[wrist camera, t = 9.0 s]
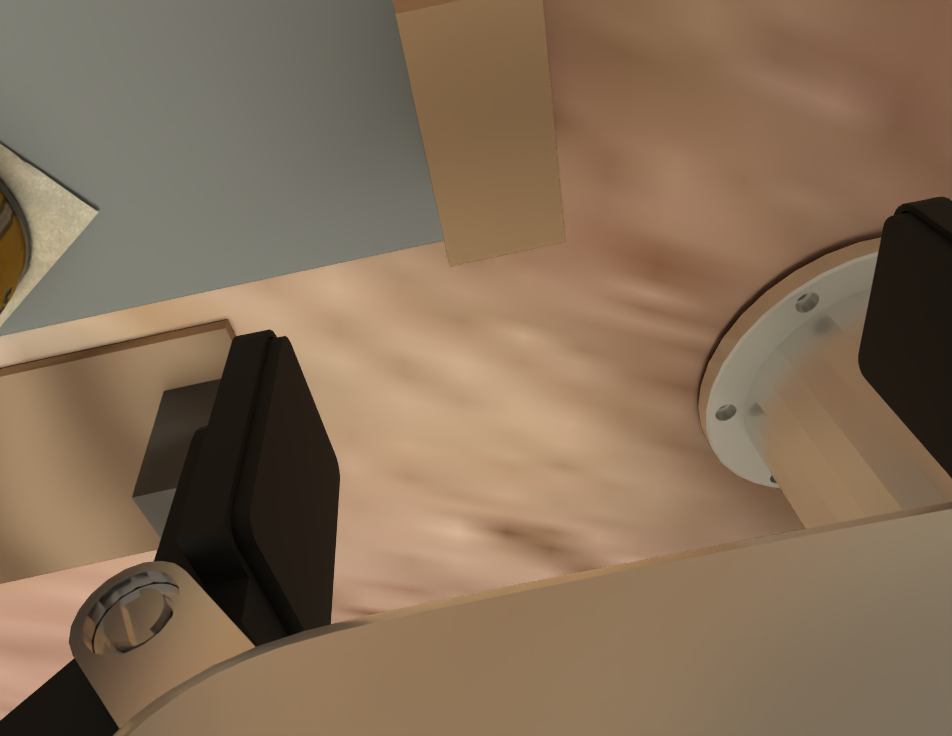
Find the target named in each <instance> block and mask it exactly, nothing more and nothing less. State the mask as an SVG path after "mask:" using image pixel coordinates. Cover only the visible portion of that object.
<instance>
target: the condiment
mask: <svg viewBox="0 0 952 736" xmlns="http://www.w3.org/2000/svg"><path fill="white" fill-rule="evenodd" d="M98 213H99V212H98V211H96V210H95V209H93V208H92V207H90V206H89V205H87V204H86V203H84V202H83V201H81V200H80V199H79V198H77V197H76V196H74V195H73V194H72V193H70V192H69V191H67V190H66V189H64V188H63V187H62V186H60V185H59V184H57V183H56V182H54V181H53V180H52V179H50V178H49V177H48V176H46V175H45V174H43V173H42V172H41V171H39V170H38V169H36V168H35V167H33V166H32V165H30V164H28V163H26V162H24V161H23V160H21V159H20V158H19V157H18V156H16V155H15V154H14V153H13V152H12V151H10V150H9V149H7V148H6V147H4V146H3V145H1V144H0V327H1V326H2V324H3V323H4V322H5V321H6V320H7V318H8V317H9V316H10V315H11V314H12V312H13V311H14V310H15V309H16V308H17V307H18V306H19V305H20V303H21V302H22V301H23V300H24V299H25V297H26V296H27V295H28V294H29V293H30V291H31V290H32V289H33V288H34V287H35V286H36V285H37V283H38V282H39V281H40V280H41V279H42V278H43V276H44V275H45V274H46V273H47V272H48V271H49V269H50V268H51V267H52V266H53V265H54V264H55V262H56V261H57V260H58V259H59V258H60V257H61V256H62V254H63V253H64V252H65V251H66V250H67V249H68V247H69V246H70V245H71V244H72V243H73V242H74V240H75V239H76V238H77V237H78V236H79V235H80V234H81V233H82V231H83V230H84V229H85V228H86V227H87V226H88V224H89V223H90V222H91V221H92V220H93V218H94V217H95V216H96V215H97V214H98Z"/></svg>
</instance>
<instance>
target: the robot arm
mask: <svg viewBox="0 0 952 736" xmlns="http://www.w3.org/2000/svg"><path fill="white" fill-rule="evenodd" d="M698 409H699V416H700V422H701V428H702V430H703V432H704V434H705V436H706V438H707V440H708V442H709V444H710V446H711V448H712V450H713V451H714V452H715V454H716V455H717V457H718V458H719V460H720V461H721V463H722V464H723V465H725V466H726V467H727V468H728V469H729V470H731V471H732V472H733V473H734V474H736V475H737V476H740V477H742V478H744V479H746V480H748V481H750V482H753V483H756V484H760V485H764V486H768V487H774V488H780V489H781V490H782V492H783V493H784V495H785V497H786V498H787V500H788V501H789V503H790V505H791V506H792V508H793V509H794V511H795V513H796V514H797V516H798V517H799V519H800V521H801V522H802V524H803V525H804V527H805V529H802V530H797V531H792V532H786V533H781V534H776V535H771V536H765V537H760V538H755V539H749V540H744V541H739V542H734V543H729V544H723V545H718V546H713V547H708V548H703V549H697V550H692V551H687V552H682V553H676V554H671V555H666V556H661V557H656V558H650V559H645V560H640V561H635V562H630V563H625V564H620V565H615V566H609V567H604V568H599V569H594V570H589V571H584V572H579V573H574V574H569V575H564V576H559V577H554V578H548V579H543V580H538V581H533V582H528V583H523V584H518V585H513V586H508V587H503V588H498V589H492V590H487V591H482V592H477V593H472V594H467V595H462V596H458V597H453V598H448V599H444V600H439V601H434V602H429V603H425V604H420V605H415V606H411V607H406V608H401V609H396V610H392V611H387V612H382V613H378V614H373V615H368V616H364V617H359V618H355V619H351V620H347V621H343V622H339V623H335V624H331V611H332V595H333V579H334V564H335V548H336V533H337V517H338V501H339V486H340V473H339V466H338V462H337V458H336V455H335V453H334V450H333V448H332V445H331V443H330V440H329V438H328V435H327V433H326V430H325V428H324V425H323V423H322V420H321V418H320V415H319V413H318V410H317V408H316V405H315V403H314V400H313V398H312V395H311V393H310V390H309V388H308V385H307V382H306V380H305V377H304V375H303V372H302V370H301V367H300V365H299V362H298V360H297V357H296V355H295V352H294V350H293V347H292V345H291V343H290V341H289V339H288V338H287V337H286V336H283V337H278V338H277V337H276V335H275V333H274V332H273V331H272V330H265V331H260V332H255V333H250V334H245V335H240V336H236V337H234V338H233V340H232V343H231V346H230V350H229V353H228V357H227V360H226V363H225V367H224V370H223V374H222V377H221V381H220V384H219V388H218V391H217V395H216V398H215V401H214V405H213V408H212V412H211V415H210V419H209V422H208V426H205V427H200V428H199V429H198V430H196V431H195V433H194V435H193V437H192V440H191V443H190V446H189V450H188V453H187V456H186V459H185V463H184V466H183V469H182V472H181V475H180V479H179V482H178V485H177V488H176V492H175V495H174V498H173V501H172V505H171V508H170V511H169V514H168V518H167V521H166V524H165V527H164V530H163V534H162V537H161V540H160V543H159V547H158V550H157V553H156V556H155V560H154V562H146V563H141V564H139V565H136V566H133V567H130V568H128V569H125V570H123V571H122V572H120V573H118V574H117V575H115V576H113V577H112V578H110V579H108V580H107V581H106V582H105V583H103V584H102V585H101V586H100V587H99V588H98V589H97V590H95V591H94V592H93V593H92V594H91V595H90V596H89V598H88V599H87V600H86V601H85V603H84V604H83V605H82V607H81V608H80V609H79V611H78V613H77V615H76V617H75V619H74V621H73V623H72V626H71V631H70V638H69V644H70V647H71V651H72V654H73V656H74V659H73V660H72V661H71V662H69V663H68V664H67V665H66V666H65V667H64V668H62V669H61V670H60V671H59V672H58V673H56V674H55V675H54V676H53V677H52V678H50V679H49V680H48V681H47V682H46V683H45V684H43V685H42V686H41V687H40V688H39V689H37V690H36V691H35V692H34V693H33V694H31V695H30V696H29V697H28V698H27V699H25V700H24V701H23V702H22V703H21V704H20V705H18V706H17V707H16V708H15V709H14V710H12V711H11V712H10V713H9V714H8V715H6V716H5V717H4V718H3V719H2V720H1V721H0V736H952V201H951V200H950V199H948V198H945V197H936V198H931V199H926V200H921V201H916V202H911V203H906V204H902V205H901V206H899V207H898V208H897V210H896V211H895V213H894V215H893V216H890V217H889V218H887V220H886V221H885V223H884V227H883V231H882V236H881V237H880V238H876V239H871V240H867V241H862V242H858V243H855V244H853V245H850V246H847V247H845V248H842V249H839V250H837V251H834V252H831V253H829V254H826V255H824V256H822V257H820V258H818V259H817V260H815V261H813V262H811V263H809V264H807V265H805V266H804V267H802V268H800V269H798V270H796V271H794V272H793V273H792V274H790V275H789V276H787V277H786V278H785V279H783V280H782V281H780V282H779V283H778V284H776V285H775V286H773V287H772V288H771V289H769V290H768V291H766V292H765V293H764V294H763V295H762V296H761V297H760V298H759V299H758V300H757V301H756V302H755V303H754V304H752V305H751V306H750V307H749V308H748V309H747V310H746V311H745V312H744V313H743V314H742V315H741V316H740V317H739V319H738V320H737V321H736V322H735V324H734V325H733V326H732V327H731V329H730V330H729V331H728V332H727V334H726V335H725V336H724V337H723V339H722V340H721V342H720V344H719V346H718V347H717V349H716V351H715V353H714V354H713V356H712V358H711V360H710V361H709V363H708V366H707V369H706V372H705V375H704V378H703V381H702V384H701V387H700V396H699V405H698Z"/></svg>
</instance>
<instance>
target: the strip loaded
mask: <svg viewBox="0 0 952 736" xmlns="http://www.w3.org/2000/svg"><path fill="white" fill-rule="evenodd" d="M0 144H1V145H3V146H4V147H6V148H7V149H9V150H10V151H12V152H13V153H14V154H15V155H16V156H18V157H19V158H20V159H21V160H23V161H24V162H26V163H28V164H30V165H32V166H33V167H35V168H36V169H38V170H39V171H41V172H42V173H43V174H45V175H46V176H48V177H49V178H50V179H52V180H53V181H54V182H56V183H57V184H59V185H60V186H62V187H63V188H64V189H66V190H67V191H69V192H70V193H72V194H73V195H74V196H76V197H77V198H79V199H80V200H81V201H83V202H84V203H86V204H87V205H89V206H90V207H92V208H93V209H95V210H96V211H98V212H99V213H98V214H97V215H96V216H95V217H94V218H93V220H92V221H91V222H90V223H89V224H88V226H87V227H86V228H85V229H84V230H83V231H82V233H81V234H80V235H79V236H78V237H77V238H76V239H75V240H74V242H73V243H72V244H71V245H70V246H69V247H68V249H67V250H66V251H65V252H64V253H63V254H62V256H61V257H60V258H59V259H58V260H57V261H56V262H55V264H54V265H53V266H52V267H51V268H50V269H49V271H48V272H47V273H46V274H45V275H44V276H43V278H42V279H41V280H40V281H39V282H38V283H37V285H36V286H35V287H34V288H33V289H32V290H31V291H30V293H29V294H28V295H27V296H26V297H25V299H24V300H23V301H22V302H21V303H20V305H19V306H18V307H17V308H16V309H15V310H14V311H13V312H12V314H11V315H10V316H9V317H8V318H7V320H6V321H5V322H4V323H3V324H2V326H1V327H0V336H3V335H8V334H13V333H17V332H22V331H26V330H31V329H36V328H40V327H45V326H50V325H54V324H59V323H64V322H68V321H73V320H77V319H82V318H87V317H91V316H96V315H101V314H105V313H110V312H115V311H119V310H124V309H128V308H133V307H138V306H142V305H147V304H152V303H156V302H161V301H166V300H170V299H175V298H179V297H184V296H189V295H193V294H198V293H203V292H207V291H212V290H216V289H221V288H226V287H230V286H235V285H240V284H244V283H249V282H254V281H258V280H263V279H267V278H272V277H277V276H281V275H286V274H291V273H295V272H300V271H305V270H309V269H314V268H318V267H323V266H328V265H332V264H337V263H342V262H346V261H351V260H356V259H360V258H365V257H369V256H374V255H379V254H383V253H388V252H393V251H397V250H402V249H407V248H411V247H416V246H420V245H425V244H430V243H434V242H439V241H444V242H445V247H446V251H447V256H448V260H449V265H450V267H451V266H456V265H460V264H465V263H470V262H474V261H479V260H484V259H488V258H493V257H497V256H502V255H507V254H511V253H516V252H521V251H525V250H530V249H535V248H539V247H544V246H548V245H553V244H558V243H562V242H566V241H565V231H564V220H563V209H562V199H561V188H560V177H559V167H558V156H557V145H556V134H555V124H554V113H553V102H552V92H551V81H550V70H549V60H548V49H547V38H546V28H545V17H544V6H543V0H0Z"/></svg>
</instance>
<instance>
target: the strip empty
mask: <svg viewBox="0 0 952 736" xmlns="http://www.w3.org/2000/svg"><path fill="white" fill-rule="evenodd" d="M234 337H235V335H234V333H233V330H232V328H231V326H230V324H229V322H228V320H224V321H219V322H214V323H210V324H205V325H201V326H196V327H191V328H187V329H182V330H177V331H173V332H168V333H163V334H159V335H154V336H150V337H145V338H140V339H136V340H131V341H126V342H122V343H117V344H113V345H108V346H103V347H99V348H94V349H89V350H85V351H80V352H76V353H71V354H66V355H62V356H57V357H52V358H48V359H43V360H39V361H34V362H29V363H25V364H20V365H15V366H11V367H6V368H2V369H0V584H2V583H6V582H11V581H16V580H20V579H25V578H29V577H34V576H38V575H43V574H48V573H52V572H57V571H61V570H66V569H70V568H75V567H80V566H84V565H89V564H93V563H98V562H103V561H107V560H112V559H116V558H121V557H125V556H130V555H135V554H139V553H144V552H148V551H153V550H157V549H158V547H159V543H160V540H161V537H162V534H163V530H164V527H165V524H166V521H167V518H168V514H169V511H170V508H171V505H172V501H173V498H174V495H175V492H176V488H177V485H178V482H179V479H180V475H181V472H182V469H183V466H184V463H185V459H186V456H187V453H188V450H189V446H190V443H191V440H192V437H193V435H194V433H195V431H196V430H198V429H199V428H200V427H205V426H208V422H209V419H210V415H211V412H212V408H213V405H214V401H215V398H216V395H217V391H218V388H219V384H220V381H221V377H222V374H223V370H224V367H225V363H226V360H227V357H228V353H229V350H230V346H231V343H232V340H233V338H234Z"/></svg>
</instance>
